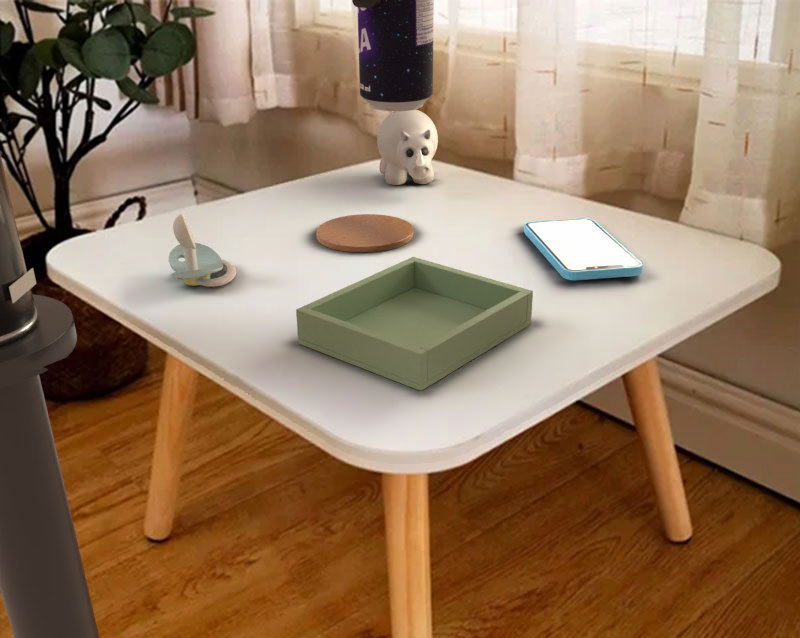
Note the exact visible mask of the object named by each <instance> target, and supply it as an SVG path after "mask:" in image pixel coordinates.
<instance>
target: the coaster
mask: <svg viewBox="0 0 800 638" xmlns="http://www.w3.org/2000/svg"><path fill="white" fill-rule="evenodd" d="M412 239H414V227H413V225H412V224H411V223H410V222H409V221H408V220H405V219H402V218H399V217H397V216H393V215H392V216H391V215H385V214H376V213H374V214H373V213H364V214H361V213H360V214H350V215H344V216H339V217H335V218H332V219H329V220H327V221H325V222H323V223H322V224H320V225H319V226H318V227H317V228H316V240H317V241H318V243H319V244H321V245H322V246H324V247H327V248H329V249H331V250H336V251H341V252H347V253H377V252H384V251H389V250H393V249H397V248H400V247H402V246H404V245H406V244H408V243H409V242H410V241H411V240H412Z"/></svg>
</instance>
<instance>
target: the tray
mask: <svg viewBox="0 0 800 638" xmlns="http://www.w3.org/2000/svg"><path fill="white" fill-rule="evenodd" d="M533 297H534V291H533V290H531V289H527V288H525V287H521V286H517V285H514V284H510V283H507V282H503V281H500V280H496V279H492V278H489V277H486V276H482V275H479V274H475V273H471V272H468V271H465V270H461V269H458V268H454V267H451V266H447V265H444V264H441V263H437V262H433V261H430V260H426V259H423V258H419V257H416V256H412V257H409V258H408V259H405V260H402V261H400V262H398V263H396V264H394V265H391V266H389V267H388V268H387V267H386V268H385V269H382V270H381V271H379V272H375V273H374V274H372V275H369V276H367V277H365V278H363V279H361V280H358V281H355V282H354V283H351V284H350V285H347V286H345V287H343V288H341V289H338V290H337V291H333V292H332V293H330V294H329V293H328V295H325V296H323V297H321V298H319V299H318V298H317V300H314V301H312V302H310V303H307V304H305V305H303V306H301V307H299V308H297V309H295V317H296V328H297V330H296V331H297V342H298V345H301V346H304V347H306V348H308V349H312V350H314V351H317V352H319V353H322V354H325V355H327V356H330V357H333V358H335V359H337V360H340V361H342V362H345V363H348V364H350V365H352V366H355V367H358V368H360V369H363V370H366V371H368V372H371V373H373V374H376V375H379V376H381V377H384V378H386V379H389V380H391V381H394V382H397V383H399V384H401V385H404V386H406V387H409V388H412V389H413V390H414V389H415V390H417V391H420V392H422V391H423V390H425V389H427V388H429V387H430V386H431V385H433V384H435V383H436V382H439V381H441V380H442V379H443V378H446V376H448V375H450V374H452V373H453V372H454V371H457V370H458V369H459V368H461V367H463V366H464V365H467V364H468V363H469V362H471V361H473V360H475V359H476V358H478V357H479V356H481V355H482V354H484V353H486V352H488V351H490V350H491V349H493V348H494V347H495V346H498V345H499V344H501V343H503V342H504V341H505V340H508V339H509V338H511V337H512V336H514V335H515V334H517V333H519V332H521V331H522V330H524V329H525V328H527V327H529V326H530V325H532V317H533V316H532V312H533V300H534V299H533Z"/></svg>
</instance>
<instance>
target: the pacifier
mask: <svg viewBox="0 0 800 638" xmlns="http://www.w3.org/2000/svg"><path fill="white" fill-rule="evenodd" d="M172 230H173V231H172V232H173V234H174V235H173V236H174V237H175V239H176V241H177V242H178V243H179V244H178V245H176V246H174V247H173V248H172V249H171V250H170V253H169V255H168V263H169V266H170V268H171V269H172V270H173V271H174V272H172V273H170V276H171V278H172V279H183V282H184V284H185V285H187V286H192V287H195V286H204V287H211V288H212V287H220V286H224V285H227V284H229V283H230V282H231V281H233V280H234V279H235V278H236V275H237V269H236V267H235V265H234V264H233V263H231V262H229V261H228V260H225V259H222V257H221V256H220V255H219V254H218V253H217V251H215V250H214V249H213V248H211V247H210V246H208V245H205V244H203V243H199V242H195V238H194V236H193V232H192V230H191V227H190V225H189V223H188V221H187V219H186V217H185V215H184V214H183V213H180V214H179V215H176V217H175V219H174V220H173V224H172ZM179 259H184V261H182V260H179ZM221 270H224V271H226V272H225V273H224V274H223V275H221V276H219V277H215V278H211V275H213V274H216V273H218V272H219V271H221Z"/></svg>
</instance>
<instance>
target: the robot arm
mask: <svg viewBox="0 0 800 638" xmlns="http://www.w3.org/2000/svg"><path fill="white" fill-rule="evenodd" d="M351 2H352V4H353V6H355V7H356V8H357V7H360V8H377V7H379V6H380V4H381V0H351ZM4 168H5V167H4V163H3V159H2V154H1V153H0V347H2V346H5V345H8V344H10V343H13V342H15V341H17V340H19V339H21V338H23V337H25V336H26V335H28V334H29V333H31V332H32V331H33V330H34V329H35V328H36V326H37V325H38V322H39V318H38V313H37V309H36V307H35V305H34V299H33V294H34V293H33V292H32V289H33V287H35V285H37V280H36V275H35V270H34V267H32V268H30V269H29V270H28V271H27V266H26V262H25V258H24V253H23V249H22V244H21V240H20V235H19V230H18V226H17V222H16V217H15V213H14V209H13V204H12V199H11V195H10V190H9V186H8V181H7V178H6V177H7V176H6V171H5V169H4Z"/></svg>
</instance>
